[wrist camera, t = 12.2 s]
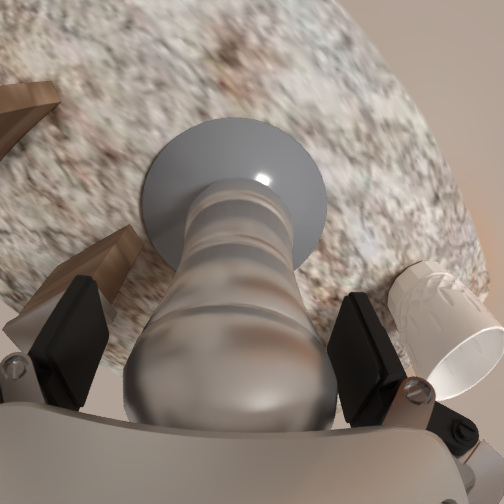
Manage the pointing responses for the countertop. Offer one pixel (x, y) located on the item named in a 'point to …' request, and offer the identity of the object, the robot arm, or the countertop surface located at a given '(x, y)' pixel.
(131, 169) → the countertop surface
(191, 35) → the countertop surface
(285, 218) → the grey bulging hollow cylinder
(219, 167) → the coaster
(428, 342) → the white cup
